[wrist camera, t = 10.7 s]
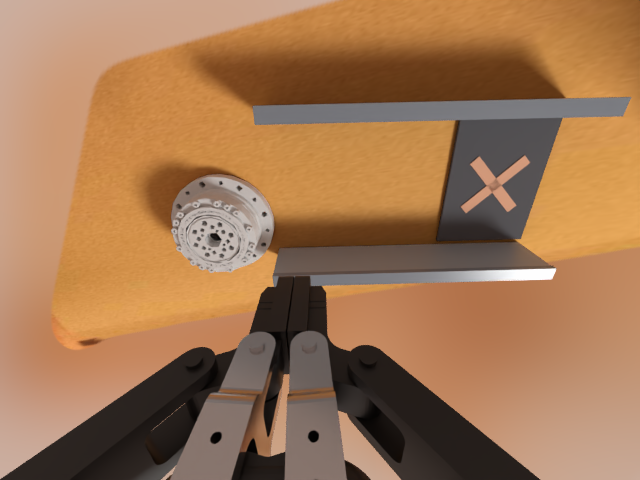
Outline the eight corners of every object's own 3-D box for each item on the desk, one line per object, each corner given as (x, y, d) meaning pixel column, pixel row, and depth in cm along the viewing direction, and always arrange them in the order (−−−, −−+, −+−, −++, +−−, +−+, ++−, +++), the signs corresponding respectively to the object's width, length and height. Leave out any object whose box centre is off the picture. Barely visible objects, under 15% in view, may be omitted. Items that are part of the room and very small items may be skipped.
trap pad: (559, 117, 25) (563, 117, 25) (518, 237, 30) (521, 239, 30) (459, 119, 25) (461, 119, 24) (436, 239, 30) (437, 241, 30)
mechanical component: (194, 153, 26) (166, 238, 30) (172, 164, 22) (143, 259, 26) (290, 202, 28) (252, 274, 32) (287, 219, 24) (244, 299, 28)
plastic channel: (567, 96, 24) (631, 97, 19) (514, 250, 31) (551, 279, 26) (265, 103, 24) (252, 105, 19) (280, 256, 31) (274, 286, 26)
